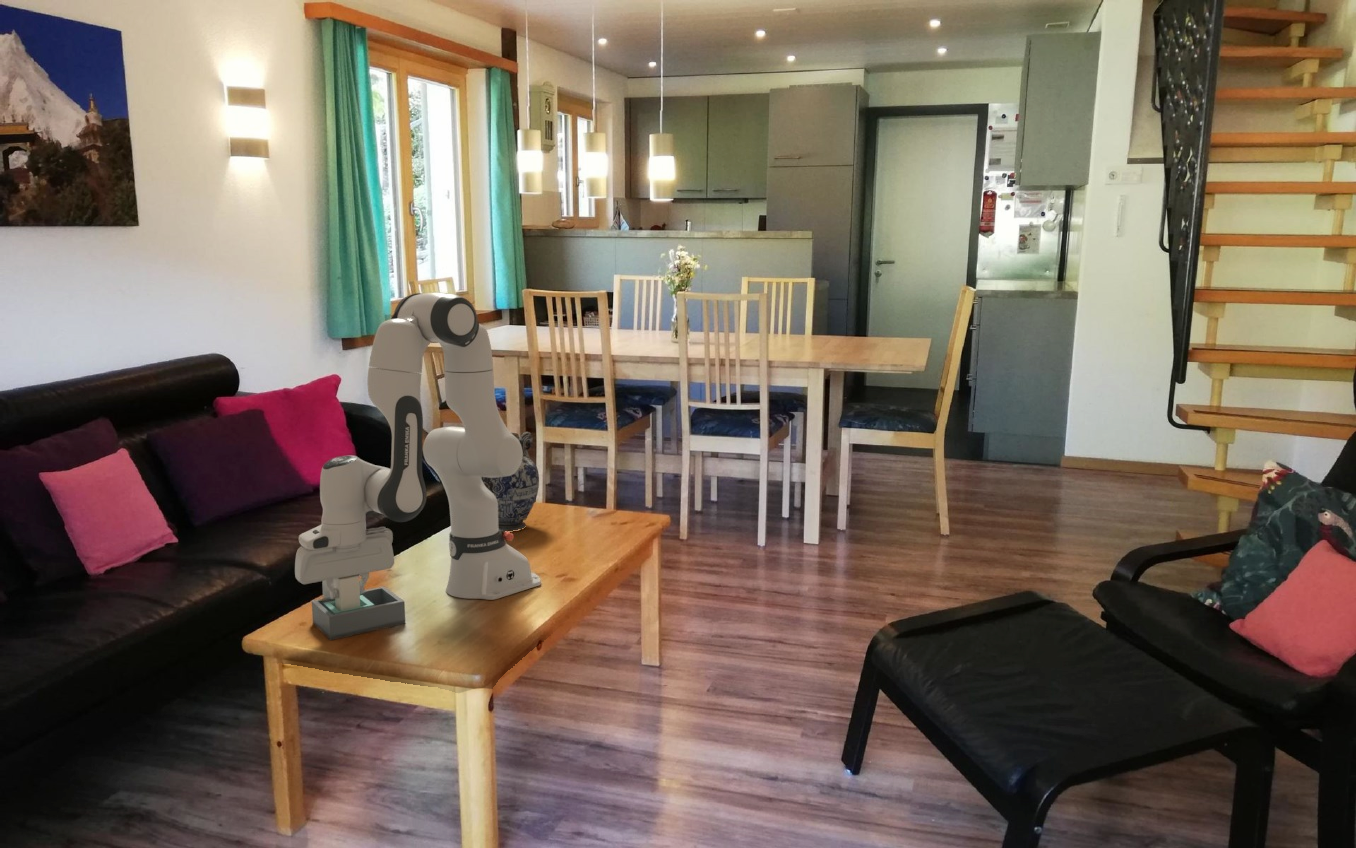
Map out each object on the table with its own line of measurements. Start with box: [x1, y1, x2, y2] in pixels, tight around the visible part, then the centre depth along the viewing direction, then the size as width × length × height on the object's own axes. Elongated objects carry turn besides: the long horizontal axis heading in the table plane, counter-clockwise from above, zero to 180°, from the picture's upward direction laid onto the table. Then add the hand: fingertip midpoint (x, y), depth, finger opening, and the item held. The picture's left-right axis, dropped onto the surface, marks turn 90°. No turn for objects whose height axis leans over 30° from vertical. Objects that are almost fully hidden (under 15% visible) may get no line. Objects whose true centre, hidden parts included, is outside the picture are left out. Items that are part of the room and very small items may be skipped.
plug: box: [334, 574, 360, 611], centre depth 204 cm, size 4×4×9 cm
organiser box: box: [311, 585, 406, 641], centre depth 206 cm, size 16×12×5 cm
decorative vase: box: [481, 431, 540, 531], centre depth 279 cm, size 21×19×28 cm
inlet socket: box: [323, 595, 374, 615], centre depth 205 cm, size 8×8×4 cm
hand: (347, 595), depth 204 cm, fingers closed on plug, 4 cm apart
